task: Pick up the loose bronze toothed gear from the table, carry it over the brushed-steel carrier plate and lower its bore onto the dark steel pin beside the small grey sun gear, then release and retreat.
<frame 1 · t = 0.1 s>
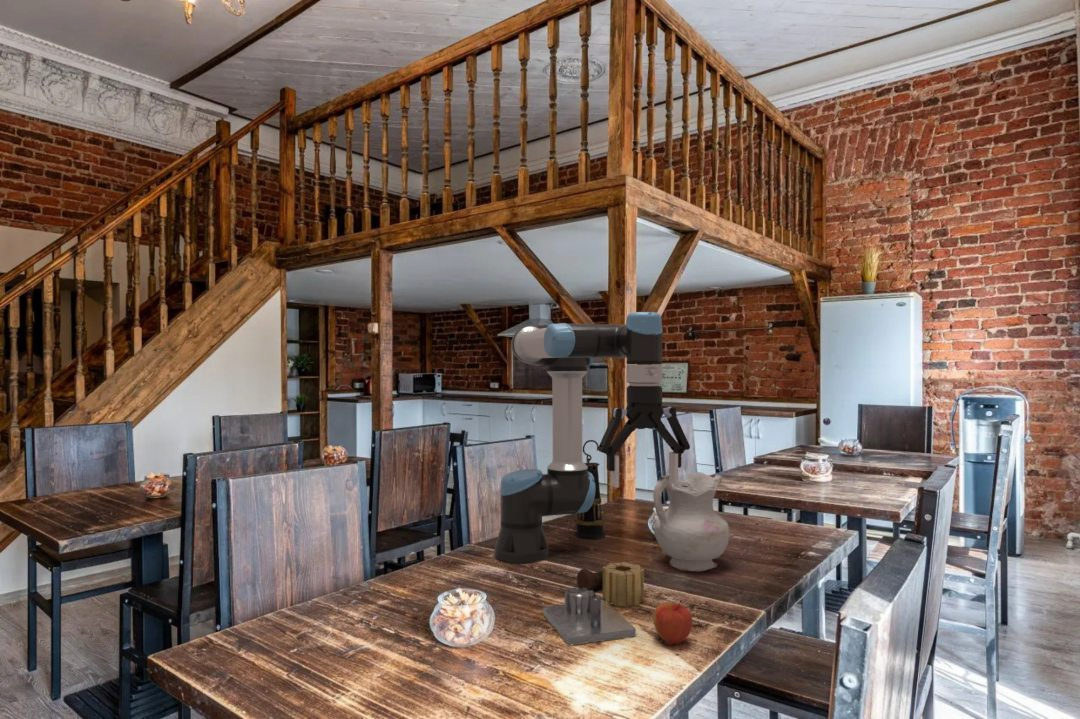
hand: (644, 484, 133), 28 cm above the table, fingers open, 13 cm apart
apple: (672, 642, 121), on the table
gear: (623, 599, 142), on the table
lantern: (590, 536, 196), on the table
ceramic pitcher: (688, 566, 167), on the table
bolt: (608, 587, 151), on the table
carrier: (587, 624, 128), on the table
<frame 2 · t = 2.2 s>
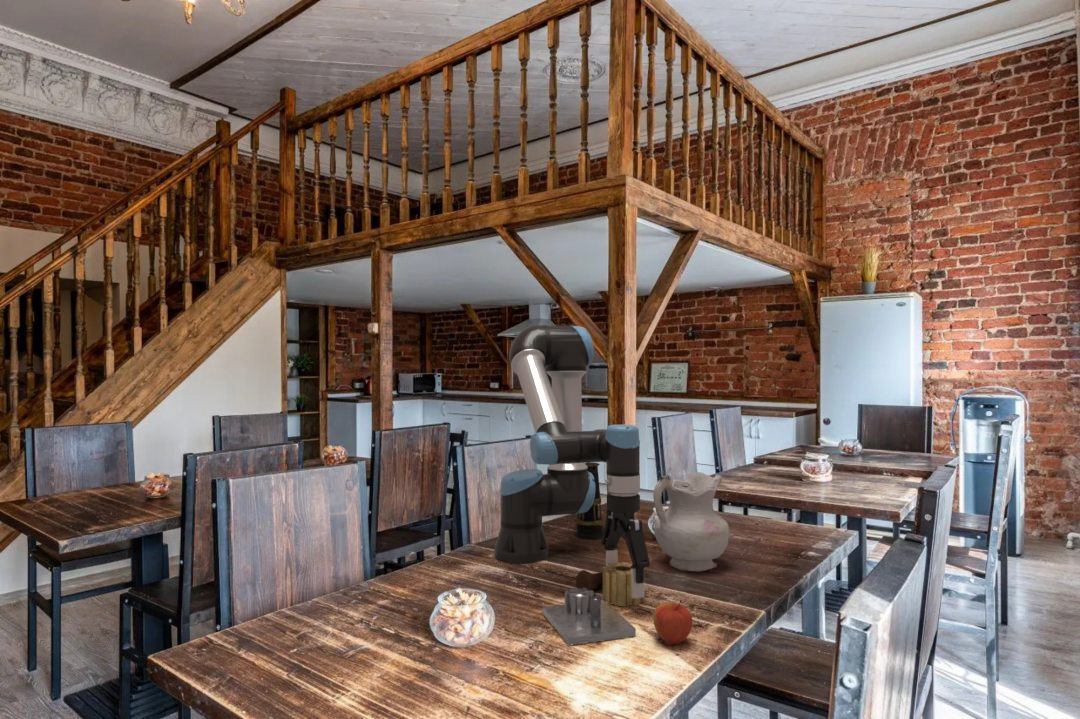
hand: (624, 587, 142), 3 cm above the table, fingers open, 13 cm apart
bolt: (605, 588, 151), on the table, touching gripper
everything else where it was.
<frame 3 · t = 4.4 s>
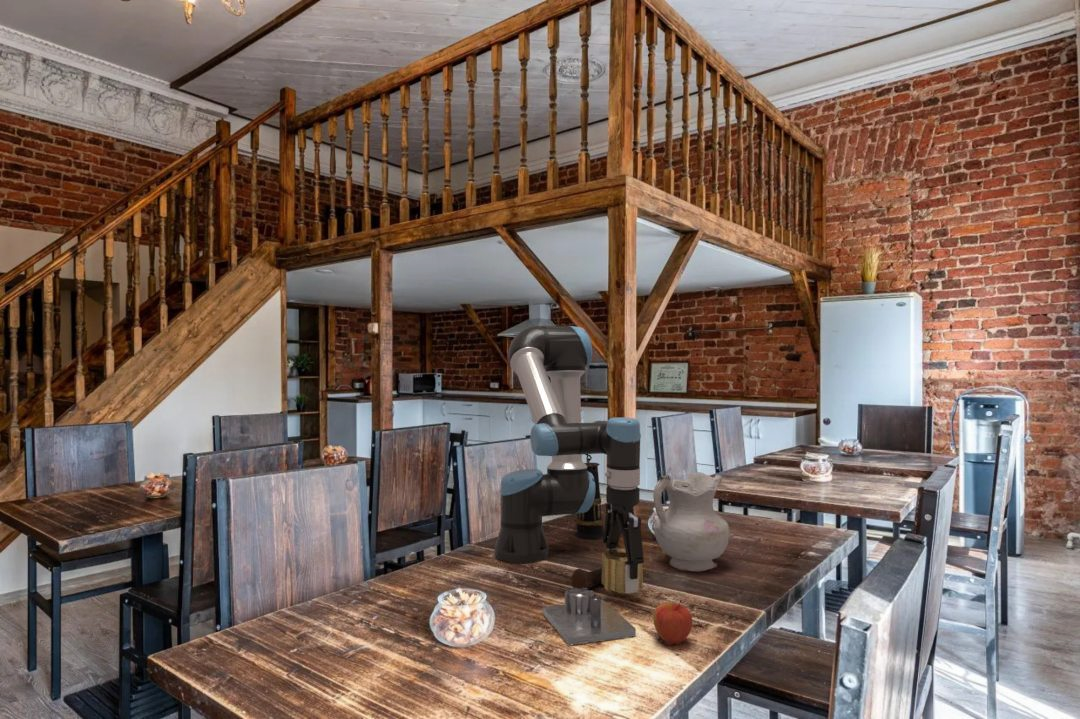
hand: (621, 584, 143), 3 cm above the table, fingers closed on gear, 9 cm apart
gear: (621, 585, 143), point 3 cm above the table, touching gripper
bolt: (600, 586, 152), on the table
everything else where it was.
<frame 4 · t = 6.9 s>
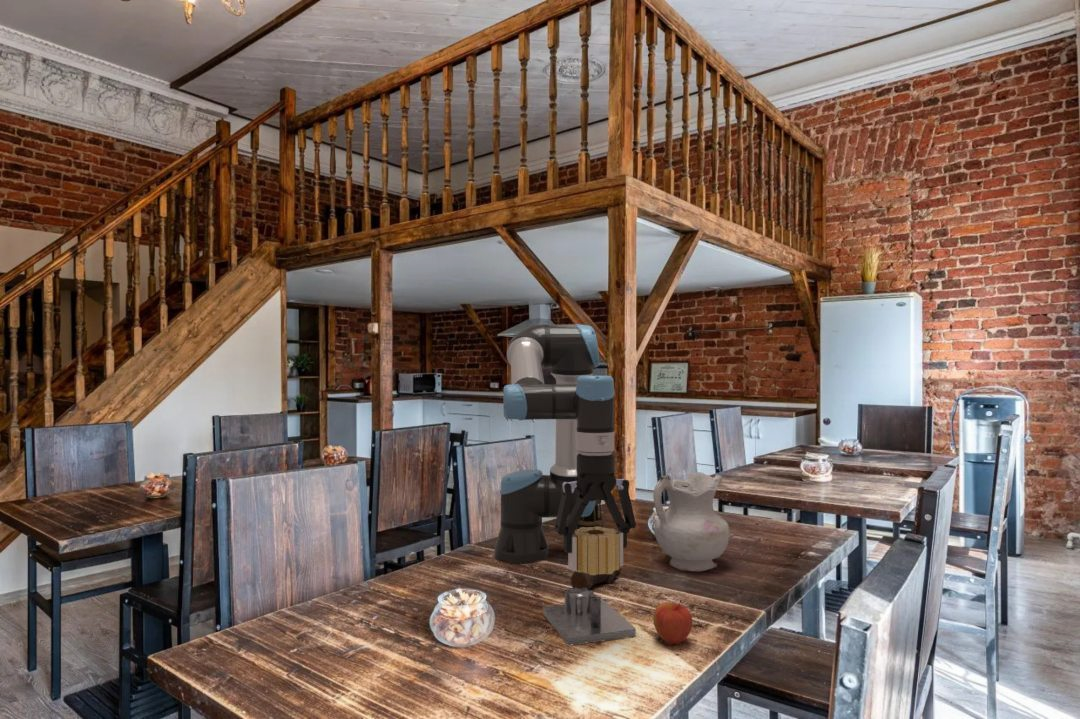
hand: (595, 566, 124), 13 cm above the table, fingers closed on gear, 9 cm apart
gear: (595, 567, 124), point 13 cm above the table, touching gripper
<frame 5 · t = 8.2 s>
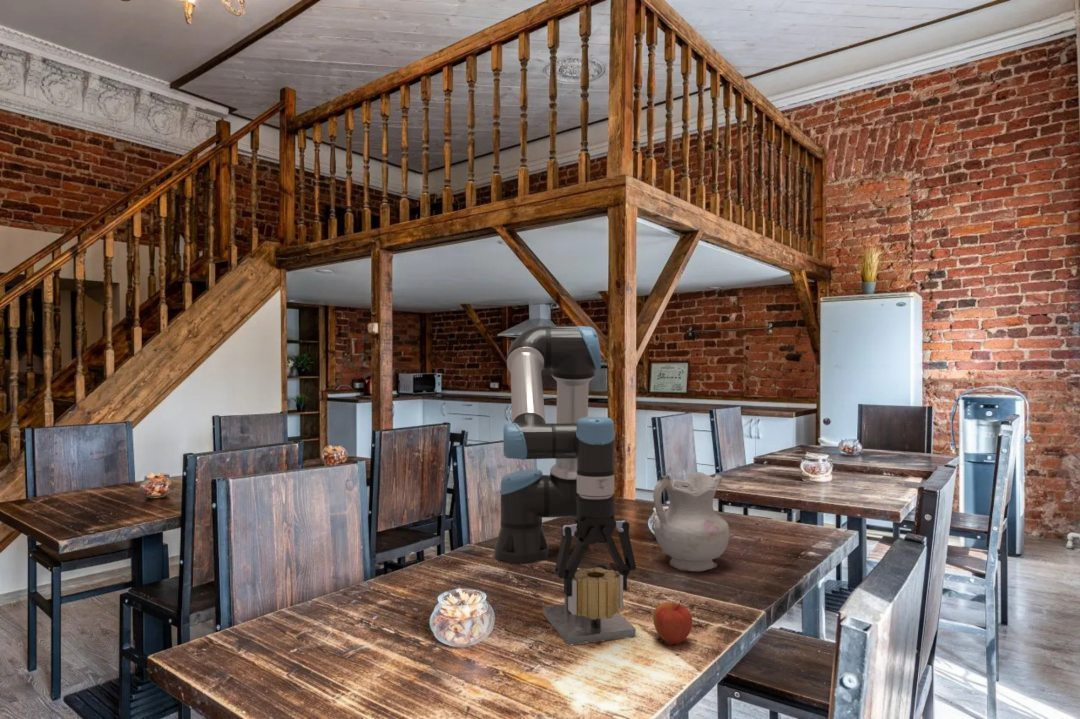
hand: (595, 609, 124), 5 cm above the table, fingers closed on gear, 9 cm apart
gear: (595, 610, 124), point 5 cm above the table, touching gripper
everything else where it was.
when the fingers open (4 cm above the table, at t = 9.2 s): gear drops 2 cm, resting on carrier.
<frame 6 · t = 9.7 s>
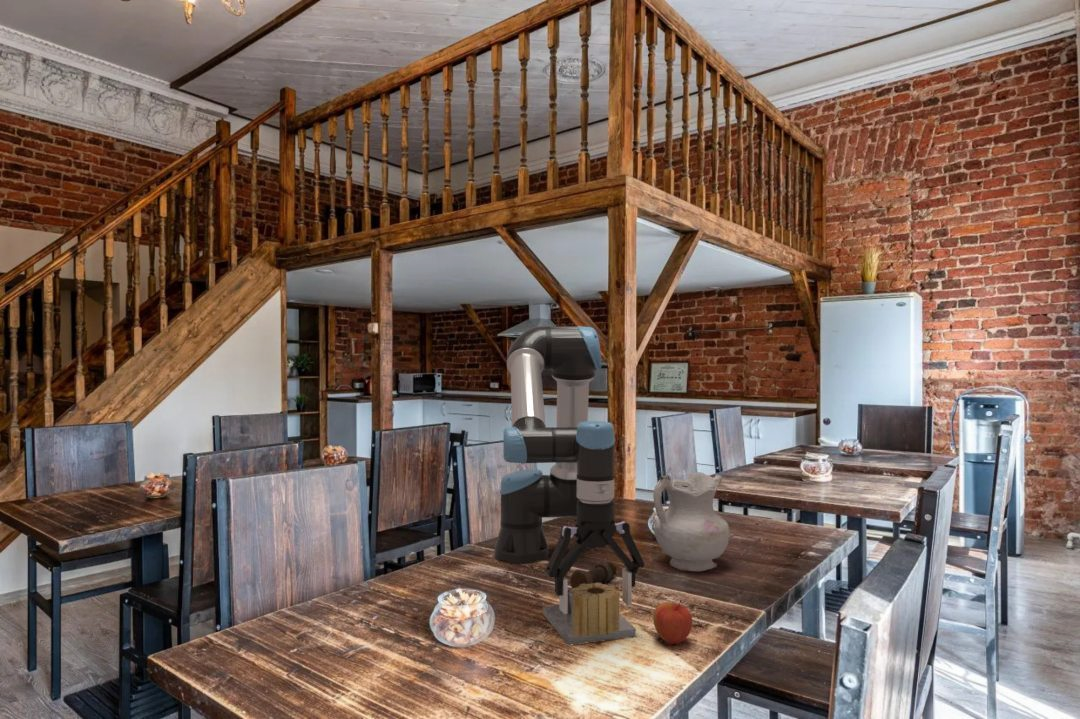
hand: (595, 607, 124), 5 cm above the table, fingers open, 13 cm apart
gear: (595, 626, 124), point 1 cm above the table, touching carrier
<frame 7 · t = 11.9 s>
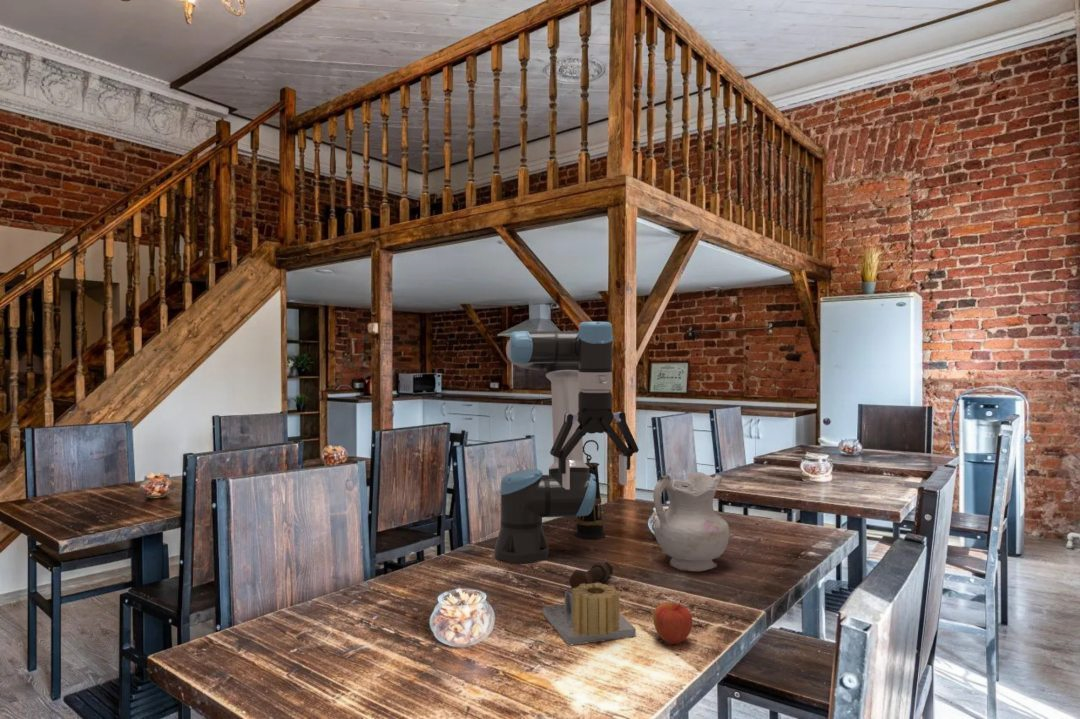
hand: (594, 486, 140), 26 cm above the table, fingers open, 13 cm apart
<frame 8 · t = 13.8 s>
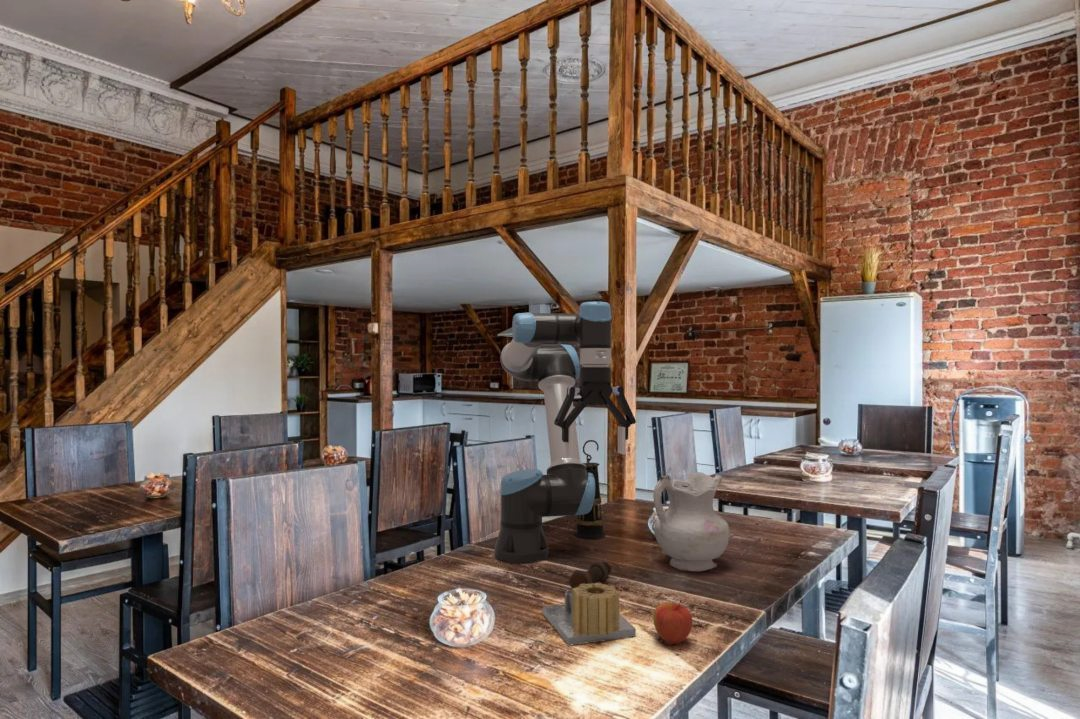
hand: (595, 454, 150), 32 cm above the table, fingers open, 13 cm apart
at the end: gear 0.1 cm from the target spot on the carrier, point 1.5 cm above the carrier's base; gear tilted 0°; the gripper is holding nothing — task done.
